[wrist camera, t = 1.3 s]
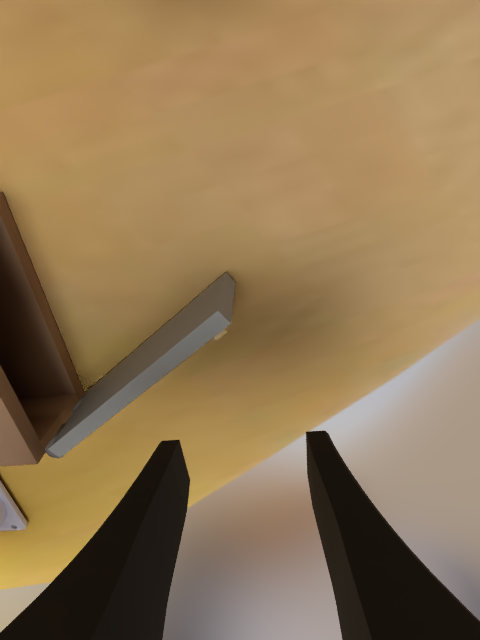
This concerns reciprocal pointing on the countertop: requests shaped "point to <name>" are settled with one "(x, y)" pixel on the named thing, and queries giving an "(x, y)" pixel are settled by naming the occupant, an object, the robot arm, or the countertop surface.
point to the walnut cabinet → (29, 357)
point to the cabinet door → (149, 363)
